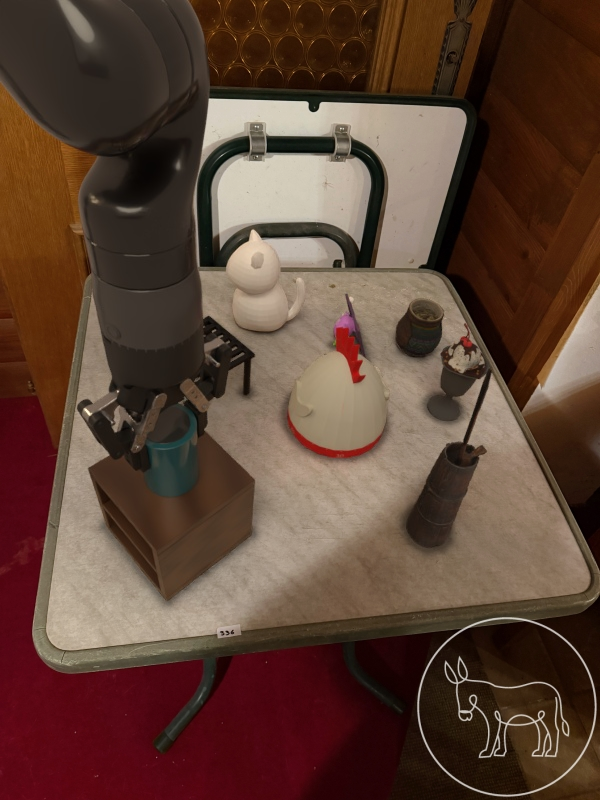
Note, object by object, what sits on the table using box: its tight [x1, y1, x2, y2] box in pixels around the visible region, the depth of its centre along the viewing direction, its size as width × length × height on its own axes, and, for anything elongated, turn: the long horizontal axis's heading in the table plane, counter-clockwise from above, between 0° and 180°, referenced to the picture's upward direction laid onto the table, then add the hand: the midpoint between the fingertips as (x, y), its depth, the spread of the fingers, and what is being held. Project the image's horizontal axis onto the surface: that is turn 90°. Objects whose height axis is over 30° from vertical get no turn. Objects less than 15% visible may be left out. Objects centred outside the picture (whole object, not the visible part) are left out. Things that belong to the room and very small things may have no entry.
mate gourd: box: [395, 297, 445, 357], centre depth 88 cm, size 7×8×10 cm
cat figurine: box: [225, 229, 307, 332], centre depth 87 cm, size 9×12×15 cm
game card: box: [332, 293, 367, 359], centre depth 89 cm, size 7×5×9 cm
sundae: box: [426, 322, 491, 422], centre depth 78 cm, size 7×7×15 cm
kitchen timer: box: [286, 327, 391, 459], centre depth 74 cm, size 14×14×15 cm
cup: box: [143, 402, 200, 497], centre depth 54 cm, size 6×6×8 cm
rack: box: [194, 315, 256, 396], centre depth 77 cm, size 14×10×8 cm
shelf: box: [87, 430, 256, 602], centre depth 61 cm, size 12×12×12 cm
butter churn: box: [406, 365, 494, 549], centre depth 59 cm, size 9×10×28 cm
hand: (168, 447), depth 54 cm, fingers closed on cup, 5 cm apart
